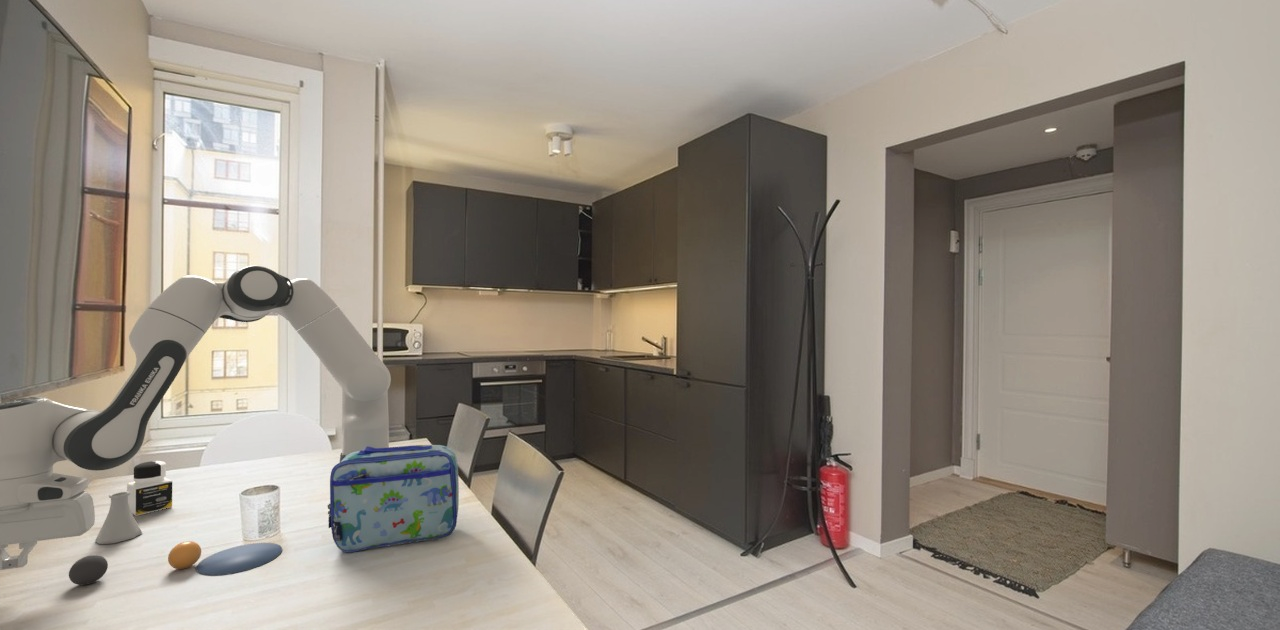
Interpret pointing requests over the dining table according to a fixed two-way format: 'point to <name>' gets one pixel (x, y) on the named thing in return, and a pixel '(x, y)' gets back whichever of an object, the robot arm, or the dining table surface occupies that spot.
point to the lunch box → (393, 496)
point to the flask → (118, 521)
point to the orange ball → (184, 555)
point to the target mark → (239, 559)
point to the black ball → (88, 570)
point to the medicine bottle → (149, 488)
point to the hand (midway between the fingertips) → (13, 567)
